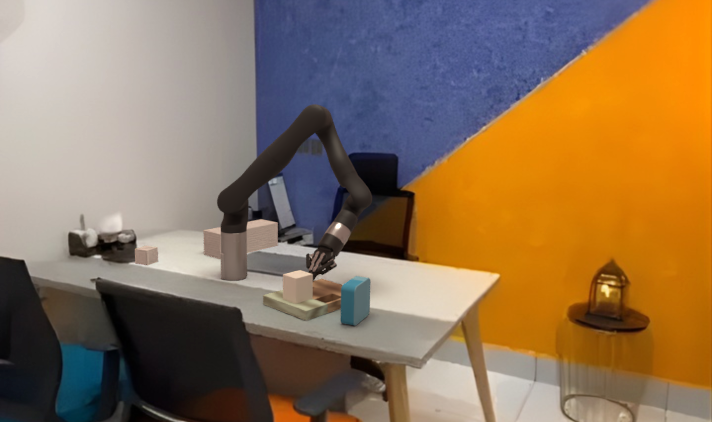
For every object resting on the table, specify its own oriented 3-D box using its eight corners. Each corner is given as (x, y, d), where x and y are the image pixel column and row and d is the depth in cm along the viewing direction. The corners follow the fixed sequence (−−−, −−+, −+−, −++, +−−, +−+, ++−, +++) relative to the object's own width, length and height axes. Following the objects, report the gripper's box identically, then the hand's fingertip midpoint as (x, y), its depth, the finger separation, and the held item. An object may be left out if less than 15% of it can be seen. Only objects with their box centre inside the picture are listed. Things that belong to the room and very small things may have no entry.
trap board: (321, 286, 206) (322, 278, 205) (364, 300, 193) (364, 291, 192) (263, 304, 187) (263, 295, 187) (305, 320, 174) (305, 311, 173)
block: (299, 294, 188) (299, 270, 187) (312, 298, 184) (312, 274, 183) (282, 299, 183) (282, 274, 182) (295, 303, 179) (295, 278, 178)
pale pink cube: (158, 262, 233) (157, 247, 232) (147, 265, 227) (147, 250, 226) (146, 260, 235) (145, 245, 234) (135, 263, 230) (134, 248, 229)
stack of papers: (261, 242, 269) (261, 219, 268) (277, 246, 263) (277, 222, 261) (204, 255, 245) (203, 230, 243) (220, 260, 238) (219, 234, 236)
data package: (356, 311, 182) (357, 274, 180) (369, 314, 181) (370, 276, 178) (340, 324, 171) (340, 285, 169) (354, 327, 170) (355, 287, 168)
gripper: (314, 229, 195) (286, 272, 188) (343, 235, 186) (315, 281, 179) (326, 242, 200) (299, 284, 193) (354, 249, 191) (327, 293, 184)
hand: (307, 282), depth 186 cm, fingers closed
